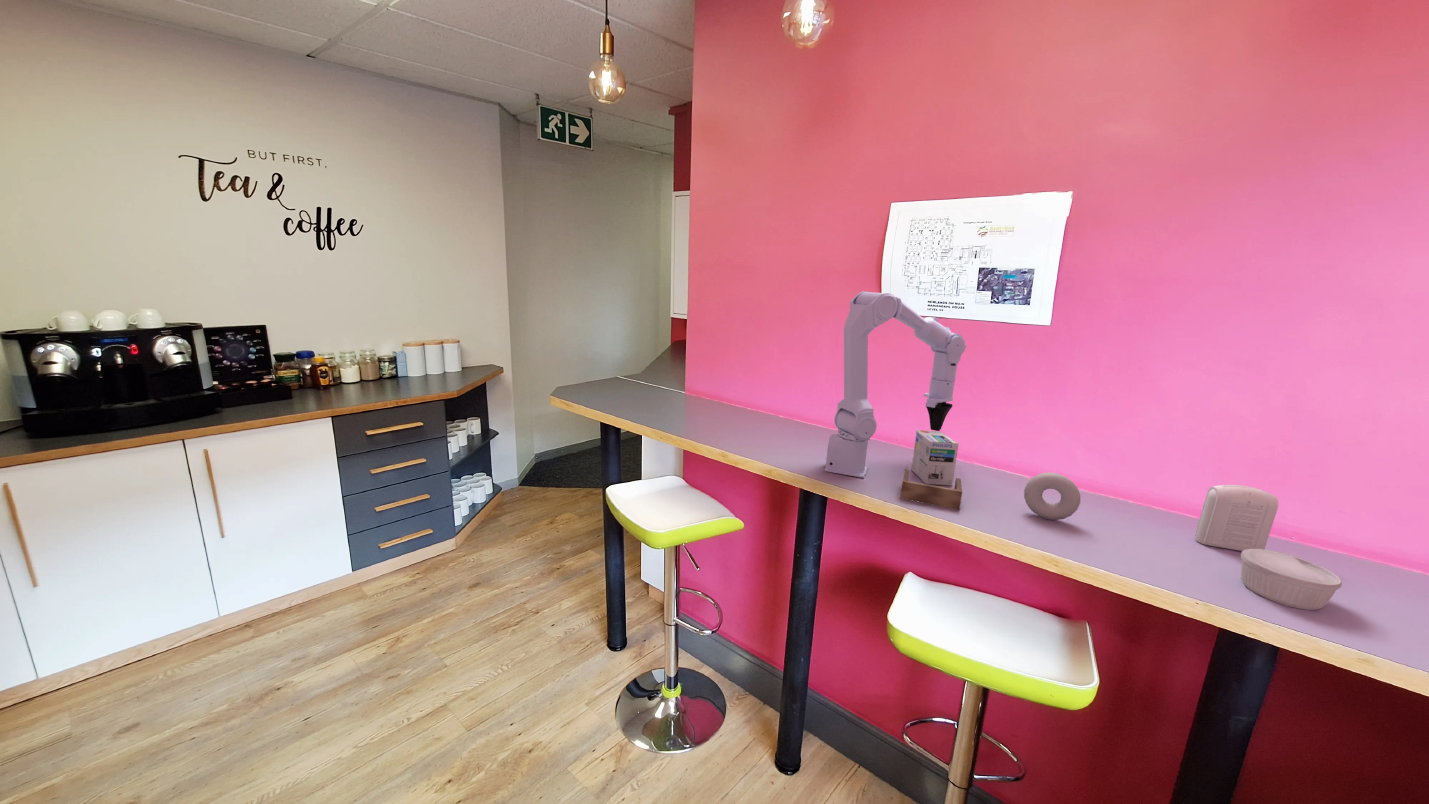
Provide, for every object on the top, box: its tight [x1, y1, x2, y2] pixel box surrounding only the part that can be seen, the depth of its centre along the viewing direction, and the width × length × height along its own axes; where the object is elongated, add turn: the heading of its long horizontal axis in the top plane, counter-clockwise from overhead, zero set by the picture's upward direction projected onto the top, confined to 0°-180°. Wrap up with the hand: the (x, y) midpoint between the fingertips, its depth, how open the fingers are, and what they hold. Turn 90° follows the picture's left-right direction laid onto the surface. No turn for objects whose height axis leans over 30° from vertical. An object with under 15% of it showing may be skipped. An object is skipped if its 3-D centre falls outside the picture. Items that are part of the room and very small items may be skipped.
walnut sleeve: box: [899, 469, 963, 511], centre depth 120 cm, size 12×9×4 cm
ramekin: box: [1240, 549, 1343, 611], centre depth 87 cm, size 11×11×5 cm
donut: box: [1023, 471, 1081, 521], centre depth 112 cm, size 10×4×10 cm, turn 55°
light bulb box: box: [910, 429, 960, 486], centre depth 132 cm, size 11×7×11 cm, turn 179°
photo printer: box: [1194, 484, 1279, 552], centre depth 103 cm, size 10×4×12 cm, turn 72°
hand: (935, 430), depth 142 cm, fingers closed
